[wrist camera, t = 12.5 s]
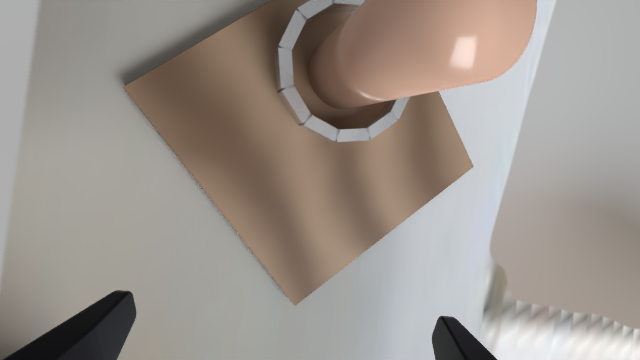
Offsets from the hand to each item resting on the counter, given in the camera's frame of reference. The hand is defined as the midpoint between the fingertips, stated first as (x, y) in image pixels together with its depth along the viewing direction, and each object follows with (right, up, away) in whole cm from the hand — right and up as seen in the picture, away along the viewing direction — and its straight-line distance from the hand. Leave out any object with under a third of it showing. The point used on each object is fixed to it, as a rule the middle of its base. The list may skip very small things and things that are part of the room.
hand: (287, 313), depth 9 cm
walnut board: (+1, +7, +13) cm, 15 cm away
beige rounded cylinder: (+2, +11, +12) cm, 17 cm away
